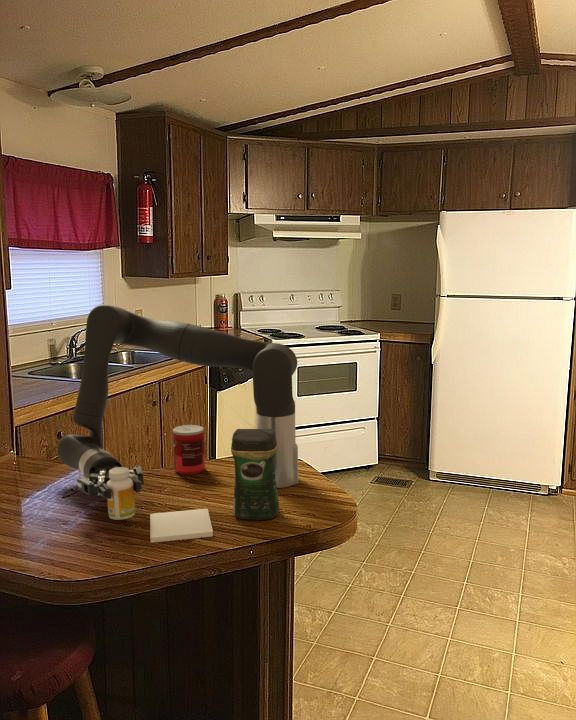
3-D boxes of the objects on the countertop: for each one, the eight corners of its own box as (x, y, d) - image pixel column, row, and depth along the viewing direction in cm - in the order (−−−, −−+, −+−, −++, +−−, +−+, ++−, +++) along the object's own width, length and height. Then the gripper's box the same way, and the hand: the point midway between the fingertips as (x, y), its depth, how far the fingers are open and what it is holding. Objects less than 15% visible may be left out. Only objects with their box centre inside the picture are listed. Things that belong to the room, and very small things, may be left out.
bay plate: (207, 512, 141) (207, 508, 141) (213, 536, 129) (212, 531, 129) (150, 518, 139) (150, 513, 138) (150, 542, 127) (150, 537, 127)
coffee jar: (280, 507, 143) (279, 424, 140) (276, 522, 136) (275, 434, 133) (236, 506, 144) (234, 424, 141) (230, 521, 137) (227, 434, 134)
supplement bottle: (138, 510, 138) (135, 465, 137) (130, 520, 133) (127, 474, 131) (114, 509, 139) (110, 465, 137) (104, 520, 134) (101, 474, 132)
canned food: (187, 463, 174) (185, 423, 172) (211, 468, 170) (210, 427, 168) (168, 472, 167) (166, 430, 166) (192, 477, 163) (190, 434, 161)
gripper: (65, 458, 143) (86, 480, 128) (130, 446, 150) (157, 466, 136) (68, 491, 144) (89, 516, 130) (132, 477, 151) (159, 500, 137)
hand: (124, 490), depth 133 cm, fingers closed on supplement bottle, 5 cm apart
